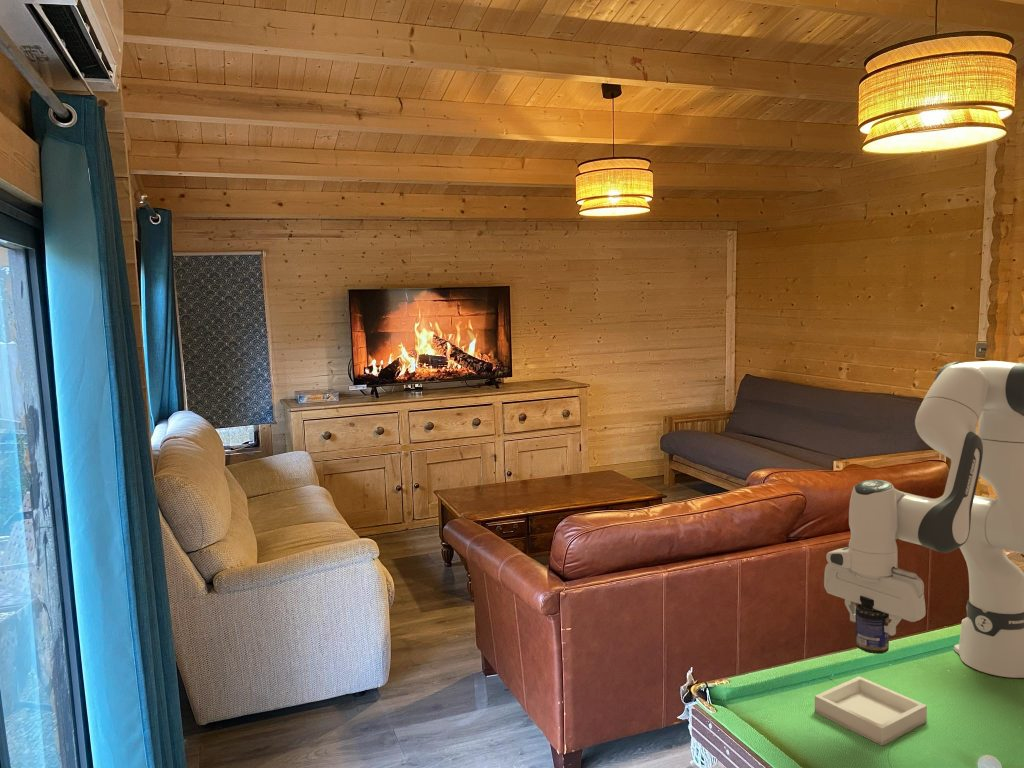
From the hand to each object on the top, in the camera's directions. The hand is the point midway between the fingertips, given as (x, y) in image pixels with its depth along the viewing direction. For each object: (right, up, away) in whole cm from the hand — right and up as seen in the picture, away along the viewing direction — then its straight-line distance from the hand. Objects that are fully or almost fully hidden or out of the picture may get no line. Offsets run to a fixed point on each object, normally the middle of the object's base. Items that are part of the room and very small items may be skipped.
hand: (872, 627), depth 149 cm
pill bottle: (0, -5, 0) cm, 5 cm away
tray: (0, -19, +2) cm, 19 cm away
